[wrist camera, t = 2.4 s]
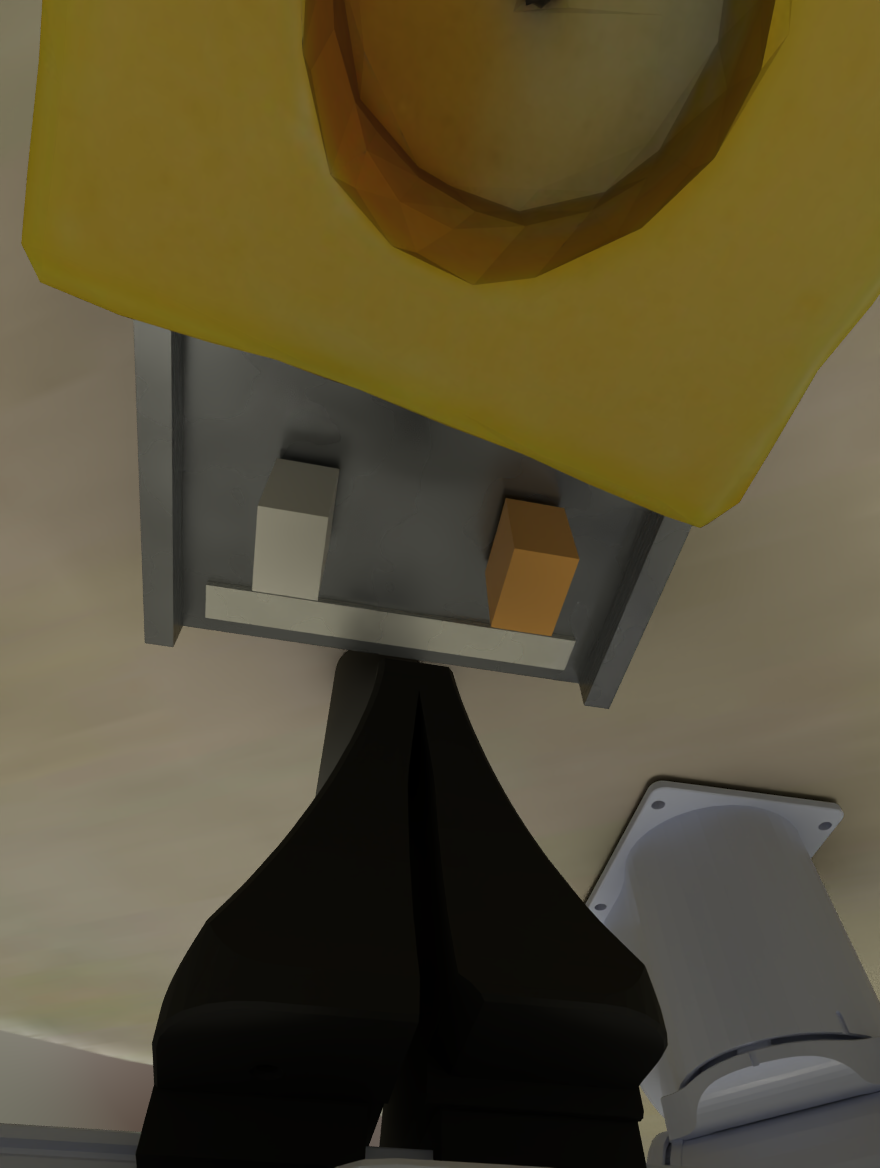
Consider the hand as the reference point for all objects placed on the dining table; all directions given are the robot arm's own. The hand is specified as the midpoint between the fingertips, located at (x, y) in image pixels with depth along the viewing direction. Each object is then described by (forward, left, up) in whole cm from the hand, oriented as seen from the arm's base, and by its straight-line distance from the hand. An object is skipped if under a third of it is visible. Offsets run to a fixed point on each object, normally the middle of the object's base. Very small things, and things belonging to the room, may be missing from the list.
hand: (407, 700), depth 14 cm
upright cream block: (0, +3, -7) cm, 7 cm away
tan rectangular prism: (0, -3, -7) cm, 8 cm away
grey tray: (0, 0, -9) cm, 9 cm away
